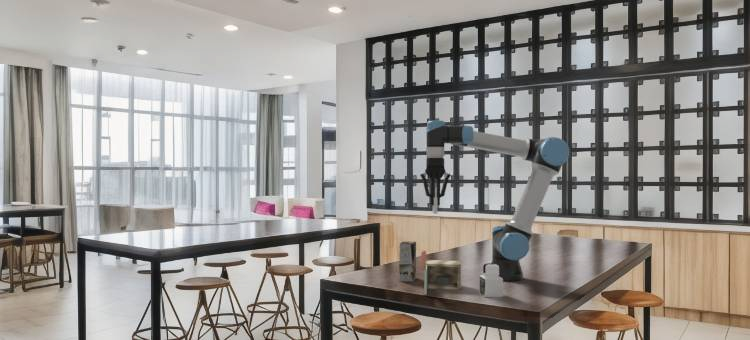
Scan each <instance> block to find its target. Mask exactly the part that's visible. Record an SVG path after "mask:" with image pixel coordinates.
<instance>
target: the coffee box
mask: <svg viewBox="0 0 750 340" xmlns="http://www.w3.org/2000/svg"><path fill="white" fill-rule="evenodd" d="M398 253H399V262H398V264H399V265H398V266H399V268H398V269H399V270H398V275H399V276H398V281H399V282H410V283H411V282H412V283H414V281H415V280H416V278H417V241H401V242H400V243H399V252H398Z"/></svg>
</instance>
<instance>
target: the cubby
mask: <svg viewBox="0 0 750 340" xmlns="http://www.w3.org/2000/svg"><path fill="white" fill-rule="evenodd" d="M426 265H428V273H427V289H434V290H454V291H455V290H456V291H457V290H458V291H459V290H461V286H462V285H461V284H462V283H461V281H462V276H461V275H462V273H461V272H462V270H461V269H462V261H461V260H442V259H441V260H438V259H437V260H436V259H426ZM437 276H449V286H447V285H437Z"/></svg>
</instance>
